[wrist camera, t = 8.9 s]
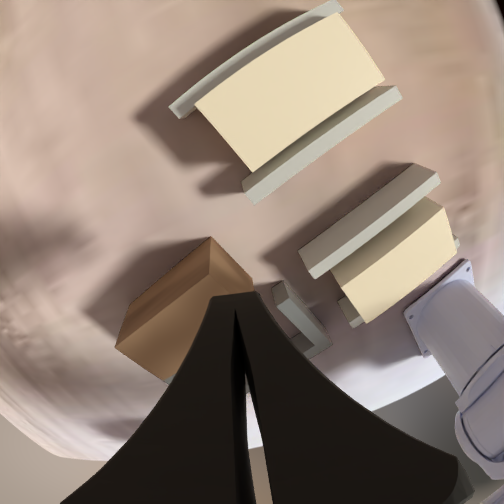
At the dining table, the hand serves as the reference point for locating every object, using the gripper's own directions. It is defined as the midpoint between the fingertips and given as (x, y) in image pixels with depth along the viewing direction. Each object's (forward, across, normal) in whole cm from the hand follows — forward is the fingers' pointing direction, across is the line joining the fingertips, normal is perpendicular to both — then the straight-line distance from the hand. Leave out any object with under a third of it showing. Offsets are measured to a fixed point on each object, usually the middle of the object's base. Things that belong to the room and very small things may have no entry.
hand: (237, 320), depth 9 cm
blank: (+10, +3, +5) cm, 12 cm away
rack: (+10, -7, -2) cm, 12 cm away
